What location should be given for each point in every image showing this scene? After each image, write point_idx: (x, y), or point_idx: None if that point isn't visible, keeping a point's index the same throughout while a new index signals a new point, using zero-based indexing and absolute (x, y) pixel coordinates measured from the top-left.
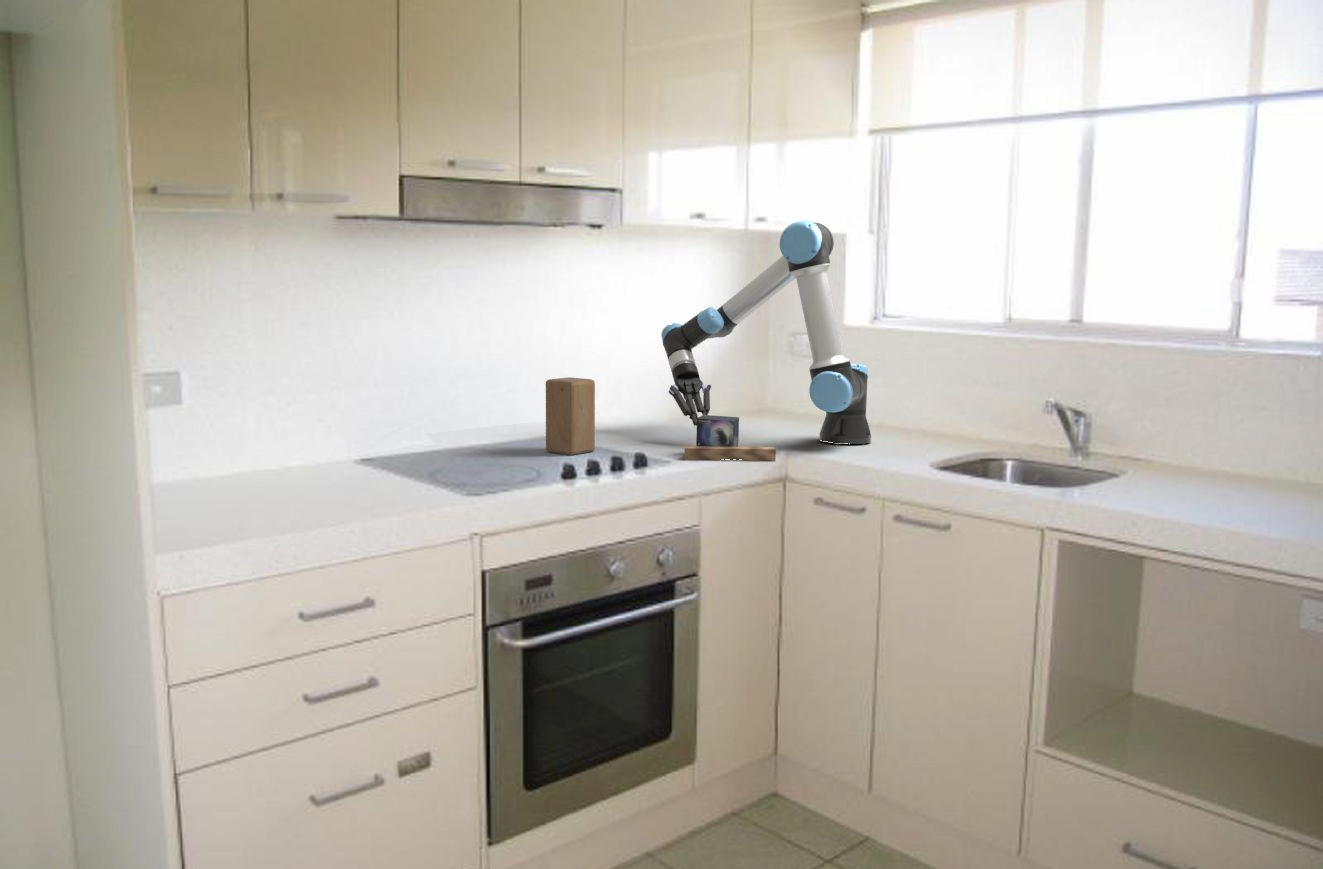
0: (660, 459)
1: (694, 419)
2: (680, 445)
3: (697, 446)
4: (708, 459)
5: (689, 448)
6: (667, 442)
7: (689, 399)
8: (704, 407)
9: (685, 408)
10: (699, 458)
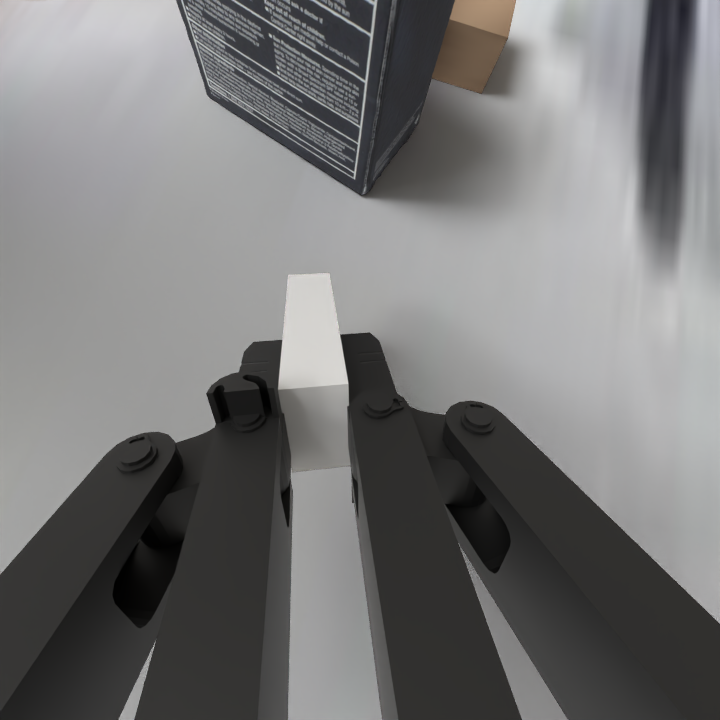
0: (587, 78)
1: (378, 353)
2: None
3: None
4: None
5: None
6: (473, 583)
7: (484, 669)
8: (138, 624)
9: (516, 429)
10: None
